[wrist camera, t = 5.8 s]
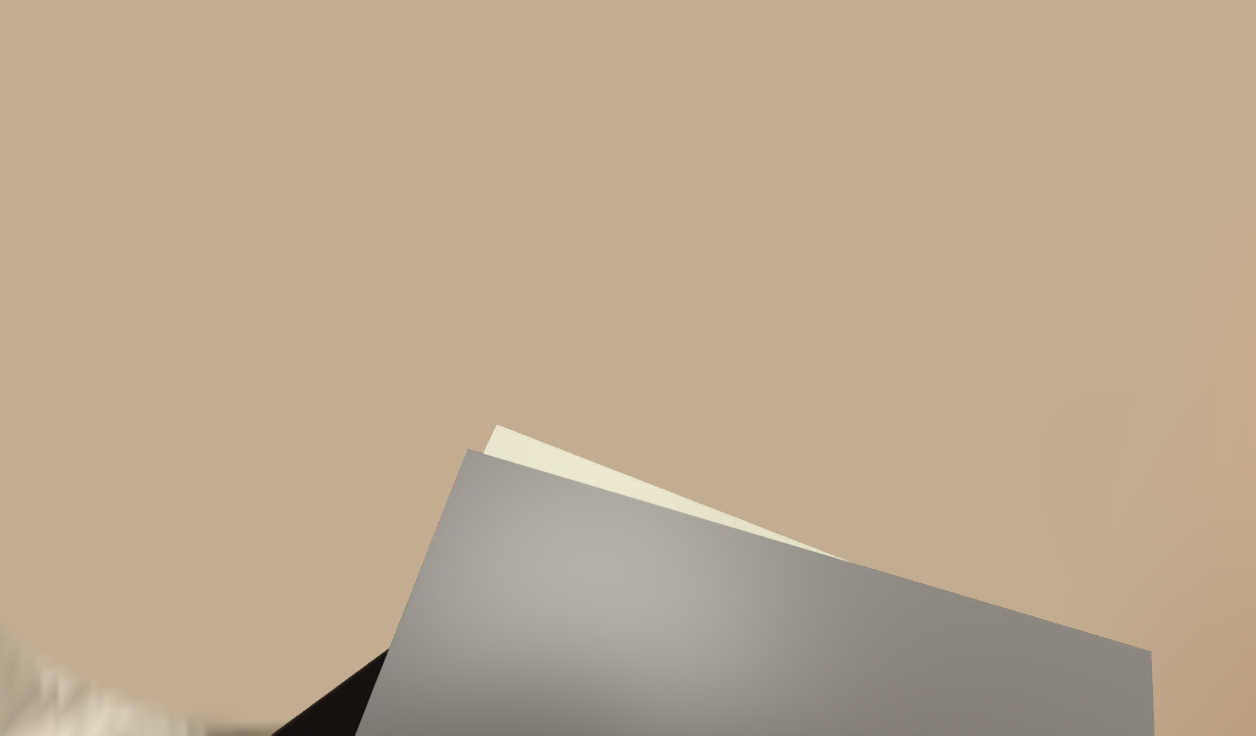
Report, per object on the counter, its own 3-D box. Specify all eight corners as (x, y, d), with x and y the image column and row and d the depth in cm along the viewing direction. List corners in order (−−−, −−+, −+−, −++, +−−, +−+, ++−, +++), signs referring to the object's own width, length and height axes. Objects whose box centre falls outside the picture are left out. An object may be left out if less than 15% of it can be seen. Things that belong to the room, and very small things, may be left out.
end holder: (738, 988, 14) (786, 1111, 11) (352, 814, 15) (280, 876, 12) (837, 568, 18) (898, 557, 14) (521, 444, 19) (505, 406, 15)
